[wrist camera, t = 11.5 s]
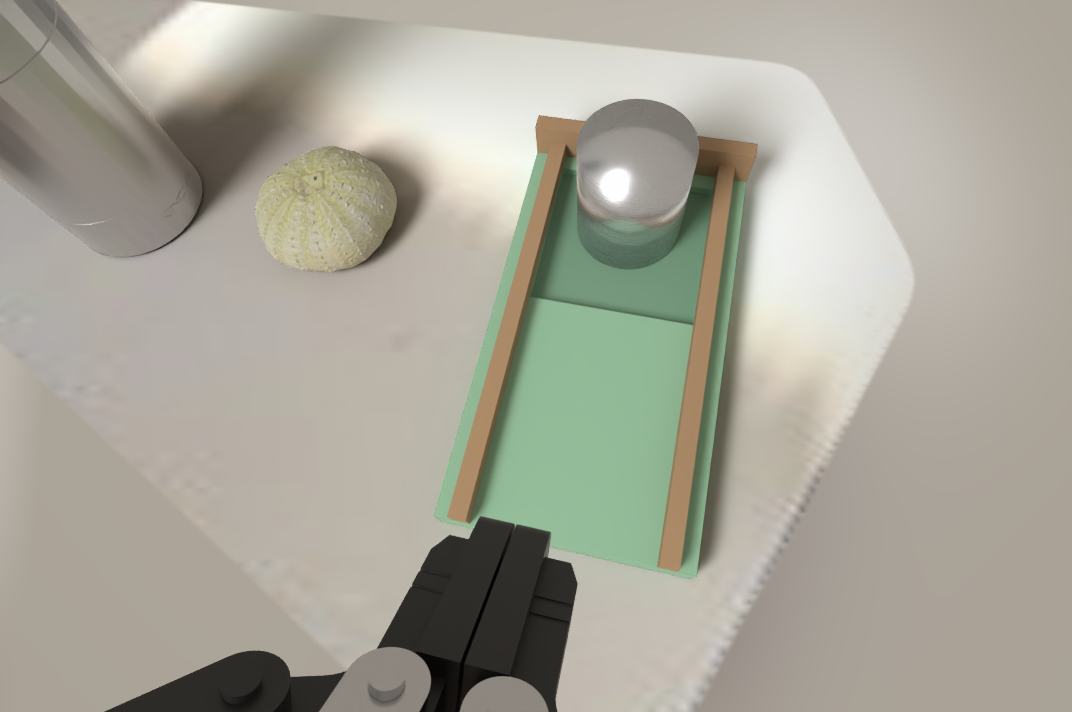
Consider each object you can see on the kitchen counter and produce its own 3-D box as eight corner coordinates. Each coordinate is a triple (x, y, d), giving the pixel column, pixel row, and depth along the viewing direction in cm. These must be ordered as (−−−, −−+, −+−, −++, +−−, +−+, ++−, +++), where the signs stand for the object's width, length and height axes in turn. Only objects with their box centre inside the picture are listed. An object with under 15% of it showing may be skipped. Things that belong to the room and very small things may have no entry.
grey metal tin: (568, 261, 40) (566, 186, 34) (586, 178, 43) (587, 93, 36) (672, 276, 40) (692, 202, 33) (684, 191, 42) (705, 105, 35)
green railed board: (441, 521, 36) (423, 508, 32) (542, 160, 45) (538, 115, 41) (689, 579, 34) (705, 572, 30) (740, 188, 43) (757, 143, 39)
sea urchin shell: (238, 180, 44) (283, 96, 39) (343, 207, 50) (394, 136, 45) (253, 288, 41) (304, 210, 36) (364, 304, 46) (422, 239, 41)
